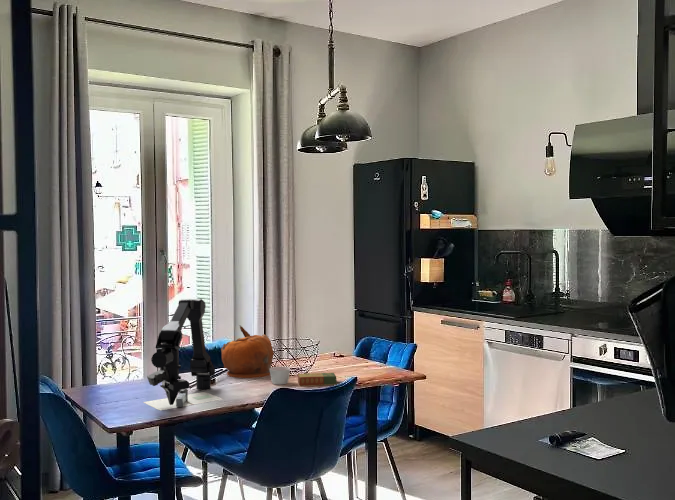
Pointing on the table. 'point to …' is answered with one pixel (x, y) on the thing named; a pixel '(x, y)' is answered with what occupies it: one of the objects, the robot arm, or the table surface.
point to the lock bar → (182, 397)
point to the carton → (317, 379)
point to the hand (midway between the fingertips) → (171, 404)
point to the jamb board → (192, 400)
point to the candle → (279, 375)
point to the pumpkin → (248, 356)
